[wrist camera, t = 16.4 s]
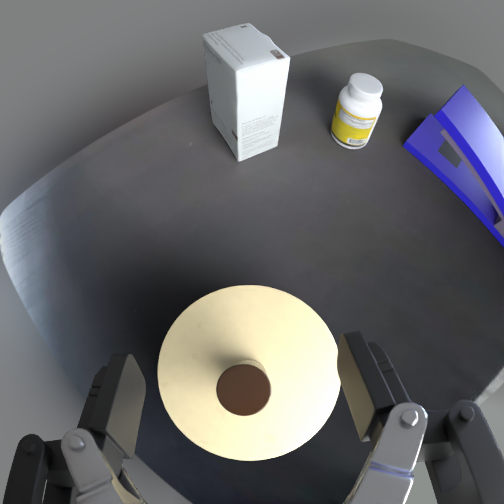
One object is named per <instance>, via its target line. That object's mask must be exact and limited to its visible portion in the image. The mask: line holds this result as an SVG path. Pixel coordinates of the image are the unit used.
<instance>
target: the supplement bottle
mask: <svg viewBox="0 0 504 504" xmlns="http://www.w3.org/2000/svg"><path fill="white" fill-rule="evenodd" d="M382 91H383V87H382V84H381V83H380V82H379V81H378V80H377V79H376V78H375V77H373V76H371V75H368V74H365V73H355V74H353V75H352V76H351V77H350V80H349V83H348V86H346V87H344V88H343V89H342V90H341V92H340V95H339V98H338V102H337V106H336V110H335V114H334V117H333V121H332V125H331V135H332V137H333V138H334V140H335V141H336V142H337V143H338V144H340V145H341V146H343V147H346V148H349V149H359V148H362V147H364V146H365V145H366V144H367V142H368V140H369V138H370V136H371V133H372V131H373V129H374V126H375V124H376V122H377V119H378V117H379V115H380V112H381V109H382V102H381V99H380V97H381V94H382Z"/></svg>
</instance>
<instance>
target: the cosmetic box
mask: <svg viewBox="0 0 504 504" xmlns="http://www.w3.org/2000/svg"><path fill="white" fill-rule="evenodd" d="M202 39H203V46H204V56H205V65H206V73H207V82H208V91H209V98H210V107H211V115H212V122H213V124H214V125H215V126H216V128H217V129H218V130H219V132H220V133H221V135H222V136H223V137H224V139H225V140H226V142H227V144H228V145H229V147H230V149H231V150H232V152H233V154H234V156H235V158H236V159H237V161H238V162H240V161H242V160H245V159H247V158H250V157H252V156H254V155H257V154H259V153H262V152H264V151H267V150H269V149H271V148H274V147H276V146H278V138H279V131H280V124H281V118H282V111H283V104H284V97H285V90H286V83H287V76H288V69H289V62H290V57H289V56H288V55H286V54H285V53H284V52H283V51H282V50H281V49H279V48H278V47H277V46H276V45H275V44H274V43H273V42H272V40H271V39H270V38H269V37H268V36H266V35H265V34H262V33H261V32H259V31H258V30H257V29H256V28H255V27H253V26H252V25H251V24H250V23H246V24H241V25H237V26H232V27H229V28H225V29H222V30H218V31H213V32H209V33H206V34H203V35H202Z"/></svg>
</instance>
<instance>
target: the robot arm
mask: <svg viewBox="0 0 504 504" xmlns="http://www.w3.org/2000/svg"><path fill="white" fill-rule="evenodd" d="M337 372H338V376H339V379H340V381H341V384H342V387H343V390H344V393H345V396H346V399H347V401H348V404H349V407H350V410H351V413H352V416H353V419H354V422H355V425H356V428H357V431H358V434H359V437H360V440H361V442H365V441H369V440H370V441H371V444H372V449H371V452H370V454H369V456H368V458H367V460H366V463H365V465H364V467H363V469H362V471H361V473H360V475H359V477H358V479H357V481H356V483H355V485H354V487H353V489H352V490H351V492H350V494H349V495H348V497H347V499H346V501H345V502H344V504H405V501H406V499H407V496H408V494H409V491H410V489H411V486H412V483H413V479H414V476H413V475H412V472H413V469H414V465H415V463H416V462H425V464H426V467H427V470H428V473H429V477H430V480H431V483H432V486H433V489H434V493H435V496H436V499H437V503H438V504H504V458H503V456H502V453H501V451H500V449H499V446H498V444H497V442H496V440H495V438H494V436H493V434H492V431H491V429H490V427H489V425H488V423H487V421H486V419H485V417H484V415H483V413H482V411H481V410H480V408H479V406H478V405H477V404H476V403H474V402H472V401H470V400H460V401H457V402H455V403H454V404H453V405H452V406H451V408H450V409H449V410H433V411H429V410H424V409H423V408H422V407H421V406H419V405H418V404H415V403H412V401H411V400H410V398H409V396H408V394H407V392H406V390H405V389H404V387H403V385H402V383H401V381H400V379H399V377H398V375H397V373H396V371H395V370H394V367H393V365H392V363H391V362H390V361H389V358H388V356H387V354H386V352H385V350H384V349H383V348H382V347H380V346H379V345H378V344H377V343H376V342H369V343H367V342H366V340H365V338H364V336H363V334H362V333H361V331H356V332H351V333H346V334H341V335H340V340H339V348H338V355H337ZM145 394H146V383H145V379H144V377H143V375H142V373H141V371H140V369H139V367H138V365H137V363H136V360H135V358H134V356H133V355H132V354H113V355H112V356H111V359H110V362H109V364H108V367H107V366H103V367H102V368H101V369H100V371H99V372H98V373H97V374H96V375H95V378H94V380H93V383H92V388H91V389H90V391H89V396H88V397H87V400H86V403H85V406H84V409H83V412H82V415H81V418H80V421H79V424H78V426H77V428H75V429H72V430H70V431H68V432H67V433H66V434H65V435H64V437H63V439H61V440H54V441H46V442H44V441H43V440H42V439H41V438H40V437H39V436H37V435H35V434H29V435H26V436H24V437H23V438H22V439H21V440H20V442H19V443H18V446H17V449H16V453H15V456H14V460H13V463H12V467H11V470H10V474H9V478H8V482H7V486H6V490H5V495H4V499H3V504H147V503H146V502H145V500H144V499H143V498H142V496H141V495H140V493H139V492H138V490H137V488H136V487H135V485H134V484H133V482H132V481H131V479H130V478H129V476H128V474H127V473H126V471H125V469H124V468H123V466H122V462H123V459H133V456H134V450H135V445H136V439H137V434H138V428H139V423H140V418H141V413H142V408H143V403H144V398H145ZM46 480H47V484H46V489H45V495H44V500H43V503H42V498H43V492H44V487H45V482H46Z"/></svg>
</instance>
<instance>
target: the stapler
mask: <svg viewBox="0 0 504 504" xmlns="http://www.w3.org/2000/svg"><path fill="white" fill-rule="evenodd" d="M403 147H404V148H406V149H407V150H408V151H409V152H410V153H412V154H413V155H414V156H415V157H416V158H417V159H419V160H420V161H421V162H422V163H423V164H424V165H425V166H426V167H428V168H429V169H430V170H431V171H432V172H433V173H434V174H435V175H436V176H437V177H439V178H440V179H441V180H442V181H443V182H444V183H445V184H446V185H447V186H448V187H449V188H450V189H451V190H452V191H453V192H454V193H455V194H456V195H457V196H458V197H459V198H460V199H461V200H462V201H463V202H464V203H465V204H466V205H467V206H468V207H469V208H470V209H471V210H472V212H473V213H474V214H475V215H476V216H477V217H478V218H479V219H480V220H481V221H482V222H483V224H484V225H485V226H486V227H487V228H488V229H489V230H490V232H491V233H492V234H493V235H494V236H495V238H496V239H497V240H498V241H499V242H500V244H501V245H502V246H503V247H504V137H503V136H502V134H501V133H500V131H499V130H498V128H497V127H496V126H495V124H494V123H493V121H492V120H491V119H490V117H489V116H488V115H487V113H486V112H485V111H484V109H483V108H482V107H481V105H480V104H479V103H478V102H477V100H476V99H475V98H474V97H473V95H472V94H471V93H470V92H469V91H468V89H467V88H466V87H465V86H464V85H463V86H462V87H460V88H459V89H458V90H457V91H456V92H455V93H454V94H453V96H452V97H451V98H450V99H449V100H448V101H447V102H446V103H445V104H444V105H443V107H442V108H441V109H440V110H439V111H438V112H437V113H436V114H435V115H434V116H433V115H432V114H431V113H430V114H429V115H428V117H427V118H426V119H425V120H424V121H423V122H422V124H421V125H420V126H419V127H418V128H417V129H416V130H415V132H414V133H413V134H412V135H411V136H410V137H409V138H408V140H407V141H406V142H405V144H404V145H403Z"/></svg>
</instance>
